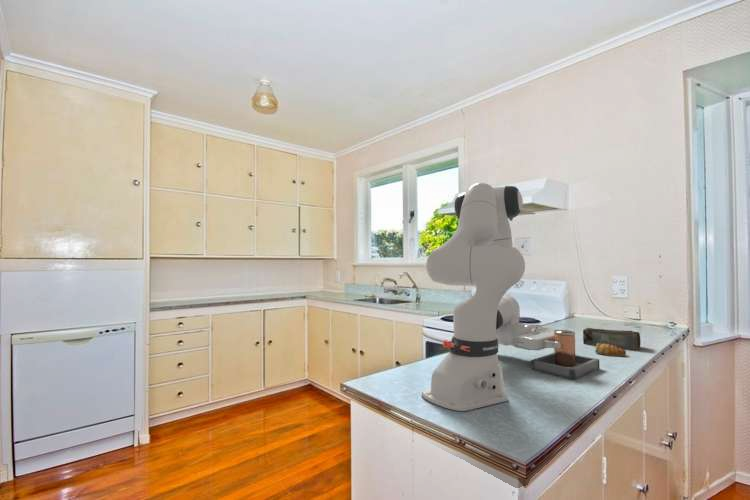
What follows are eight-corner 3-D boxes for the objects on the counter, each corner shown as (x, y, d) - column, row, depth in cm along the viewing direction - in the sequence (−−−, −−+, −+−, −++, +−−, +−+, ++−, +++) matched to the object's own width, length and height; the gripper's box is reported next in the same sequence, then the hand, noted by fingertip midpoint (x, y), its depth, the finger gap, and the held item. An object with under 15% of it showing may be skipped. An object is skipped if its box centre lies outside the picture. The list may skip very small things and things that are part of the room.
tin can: (570, 370, 111) (569, 334, 111) (550, 365, 115) (550, 331, 116) (579, 366, 114) (578, 331, 115) (559, 362, 119) (558, 329, 120)
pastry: (626, 354, 132) (626, 344, 133) (625, 358, 127) (624, 348, 127) (597, 350, 138) (596, 340, 138) (594, 354, 133) (594, 344, 133)
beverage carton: (586, 341, 155) (585, 325, 156) (641, 347, 143) (640, 330, 144) (582, 344, 149) (582, 328, 149) (639, 351, 137) (639, 334, 137)
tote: (573, 380, 104) (573, 369, 104) (531, 369, 114) (530, 360, 114) (599, 368, 115) (599, 359, 115) (558, 360, 125) (558, 351, 125)
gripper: (509, 331, 119) (551, 337, 108) (541, 324, 131) (581, 329, 120) (509, 350, 118) (551, 359, 107) (541, 341, 131) (581, 348, 120)
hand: (567, 343), depth 114 cm, fingers open, 8 cm apart
